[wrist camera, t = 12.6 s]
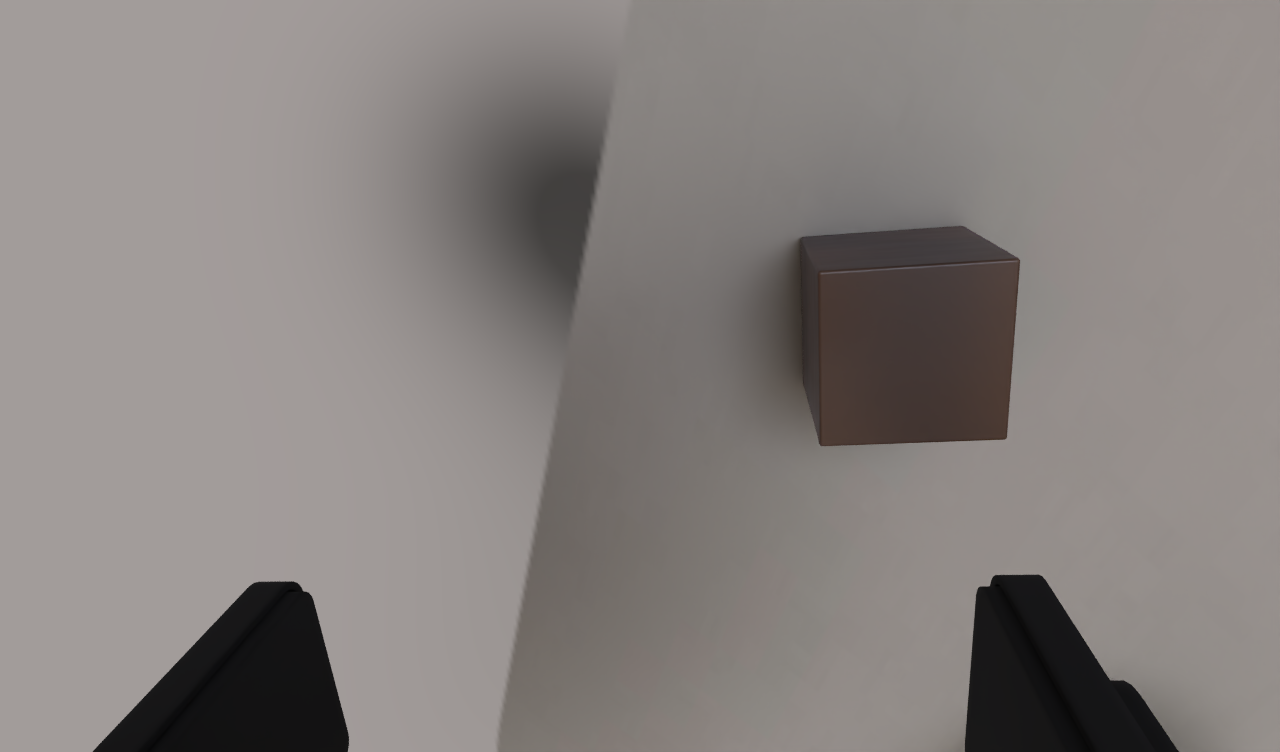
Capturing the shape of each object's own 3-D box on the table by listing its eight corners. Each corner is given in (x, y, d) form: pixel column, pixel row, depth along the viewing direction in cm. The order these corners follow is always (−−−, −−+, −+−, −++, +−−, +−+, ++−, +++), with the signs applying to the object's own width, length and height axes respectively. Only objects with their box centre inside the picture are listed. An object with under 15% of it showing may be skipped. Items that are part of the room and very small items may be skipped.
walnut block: (802, 383, 27) (819, 447, 22) (800, 236, 25) (817, 271, 20) (956, 377, 26) (1007, 440, 21) (964, 225, 24) (1021, 258, 20)
